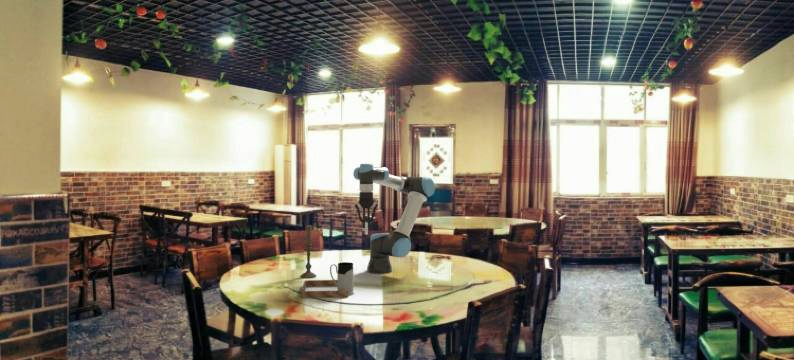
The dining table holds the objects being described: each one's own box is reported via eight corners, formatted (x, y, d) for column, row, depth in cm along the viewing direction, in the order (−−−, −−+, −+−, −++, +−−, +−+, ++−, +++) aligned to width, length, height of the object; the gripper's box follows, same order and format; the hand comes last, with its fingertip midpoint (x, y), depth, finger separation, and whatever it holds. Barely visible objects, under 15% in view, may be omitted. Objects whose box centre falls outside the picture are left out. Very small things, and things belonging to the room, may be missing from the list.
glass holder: (346, 296, 236) (346, 266, 235) (324, 292, 243) (324, 262, 243) (357, 293, 243) (357, 263, 243) (335, 289, 251) (336, 260, 251)
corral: (347, 285, 259) (347, 279, 259) (348, 297, 235) (348, 290, 235) (304, 286, 257) (304, 280, 257) (300, 297, 233) (300, 291, 233)
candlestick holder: (318, 275, 284) (318, 223, 283) (313, 278, 275) (314, 225, 274) (302, 274, 285) (303, 223, 284) (298, 278, 275) (298, 225, 275)
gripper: (354, 192, 264) (354, 235, 265) (378, 191, 266) (378, 235, 267) (354, 191, 272) (354, 233, 272) (377, 191, 273) (377, 233, 274)
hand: (366, 234), depth 270 cm, fingers closed
